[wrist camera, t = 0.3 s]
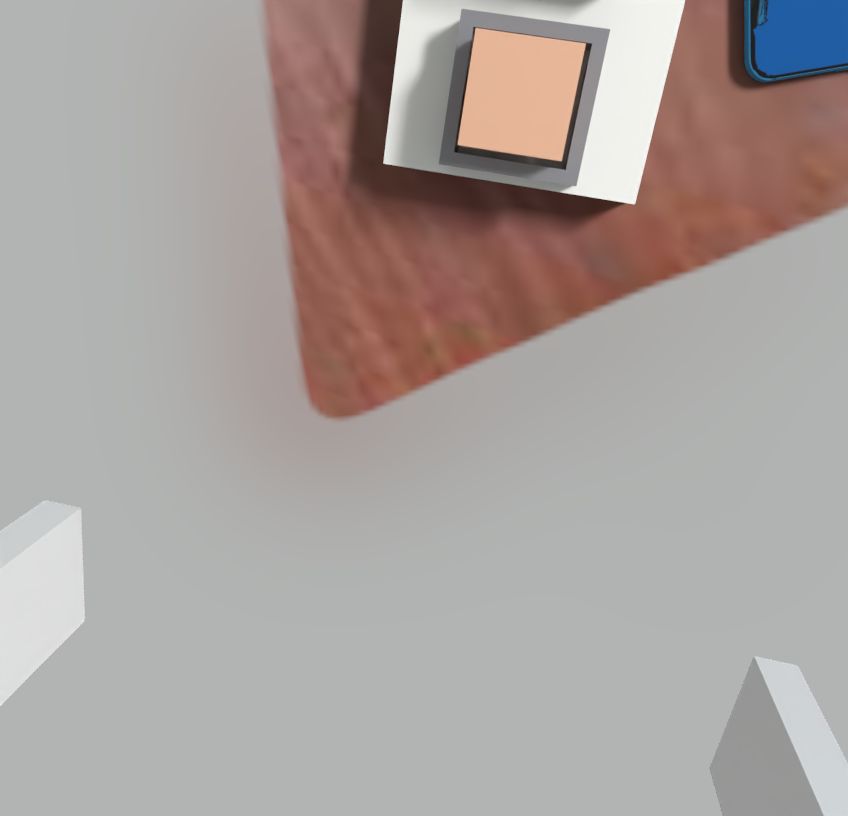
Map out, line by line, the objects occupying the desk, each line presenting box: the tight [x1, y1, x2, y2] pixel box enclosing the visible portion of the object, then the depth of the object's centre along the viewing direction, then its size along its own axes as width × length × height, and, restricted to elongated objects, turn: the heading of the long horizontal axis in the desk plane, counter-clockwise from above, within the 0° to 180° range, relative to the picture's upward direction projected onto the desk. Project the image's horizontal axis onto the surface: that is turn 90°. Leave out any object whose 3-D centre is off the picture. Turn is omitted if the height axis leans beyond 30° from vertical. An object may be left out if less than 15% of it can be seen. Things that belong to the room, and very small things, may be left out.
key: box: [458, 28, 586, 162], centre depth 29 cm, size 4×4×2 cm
